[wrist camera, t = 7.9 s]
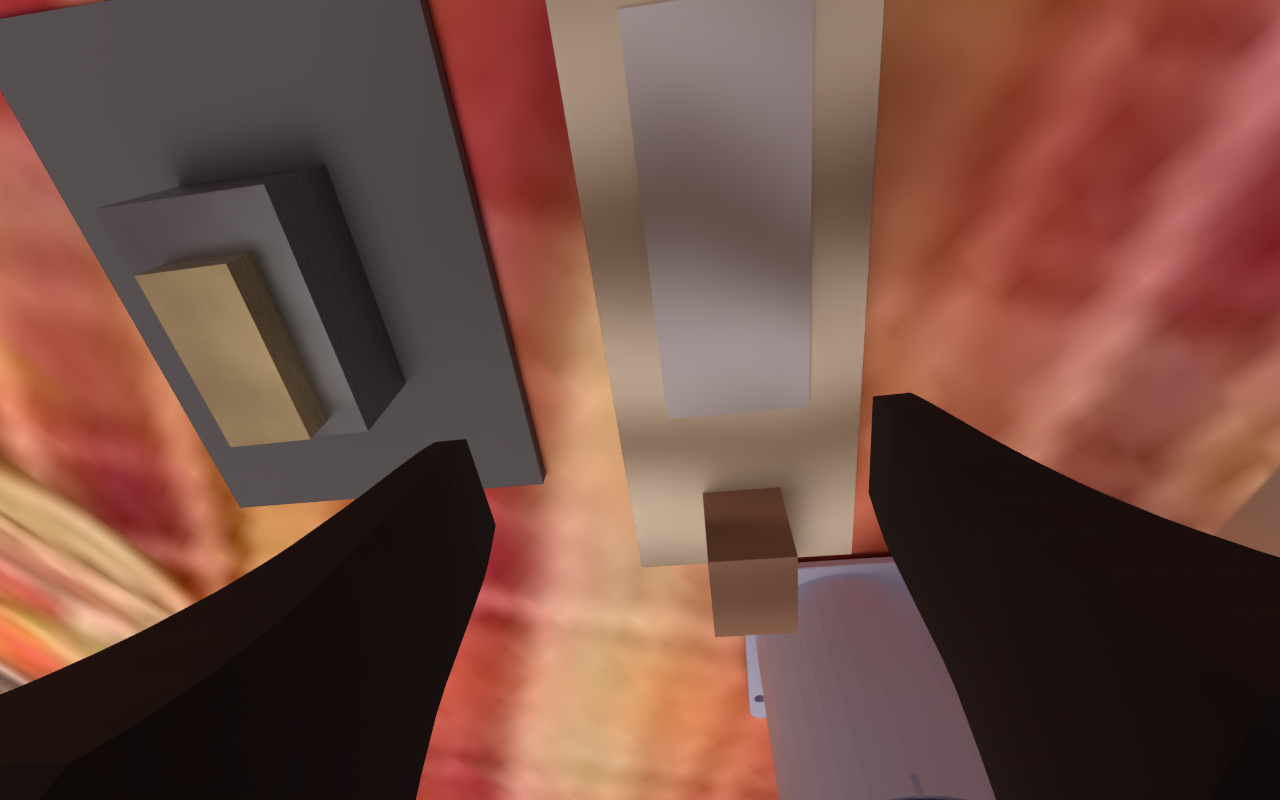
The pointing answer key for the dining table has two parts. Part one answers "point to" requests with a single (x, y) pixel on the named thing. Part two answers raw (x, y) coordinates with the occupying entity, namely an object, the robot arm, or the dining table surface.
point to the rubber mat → (283, 140)
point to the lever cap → (262, 303)
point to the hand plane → (729, 272)
